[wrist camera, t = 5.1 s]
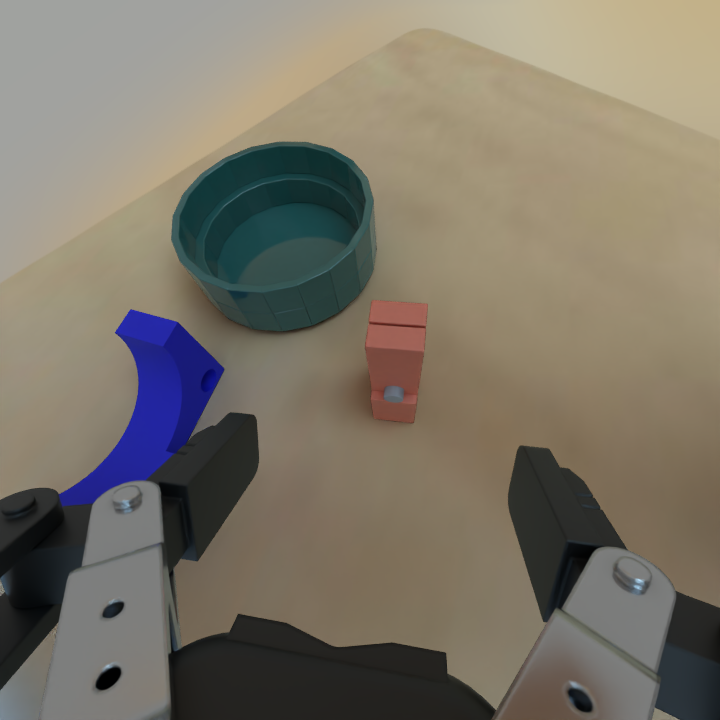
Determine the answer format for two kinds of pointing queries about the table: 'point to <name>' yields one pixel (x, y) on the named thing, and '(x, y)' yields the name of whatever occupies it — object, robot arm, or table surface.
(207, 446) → the robot arm
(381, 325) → the clothespin
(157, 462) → the cable clip
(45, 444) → the table surface
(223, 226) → the bowl
